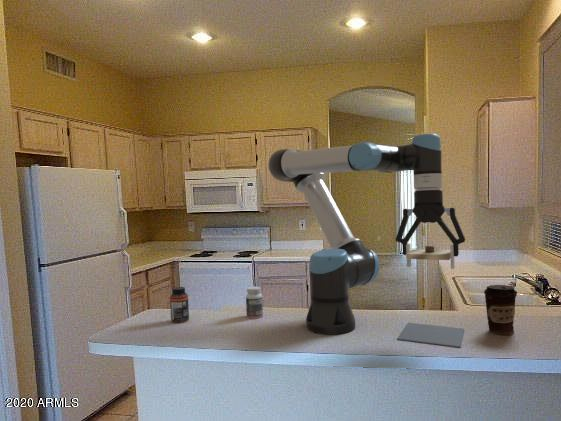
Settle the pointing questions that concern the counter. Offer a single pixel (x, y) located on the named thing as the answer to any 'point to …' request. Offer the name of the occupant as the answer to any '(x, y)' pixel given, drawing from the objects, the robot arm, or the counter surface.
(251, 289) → the pill bottle
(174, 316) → the supplement bottle
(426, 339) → the rubber mat
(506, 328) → the coffee cup
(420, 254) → the bamboo lid
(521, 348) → the counter surface
